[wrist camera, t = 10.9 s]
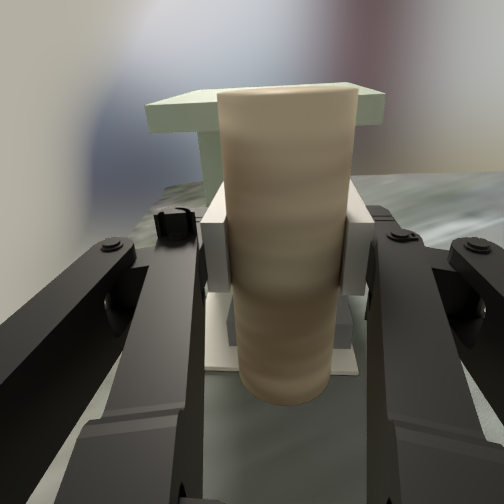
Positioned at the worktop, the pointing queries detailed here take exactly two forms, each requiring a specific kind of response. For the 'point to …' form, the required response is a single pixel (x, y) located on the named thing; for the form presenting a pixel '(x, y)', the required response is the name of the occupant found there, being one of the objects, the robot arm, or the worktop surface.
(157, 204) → the worktop surface
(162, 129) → the awning socket
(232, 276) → the peg
